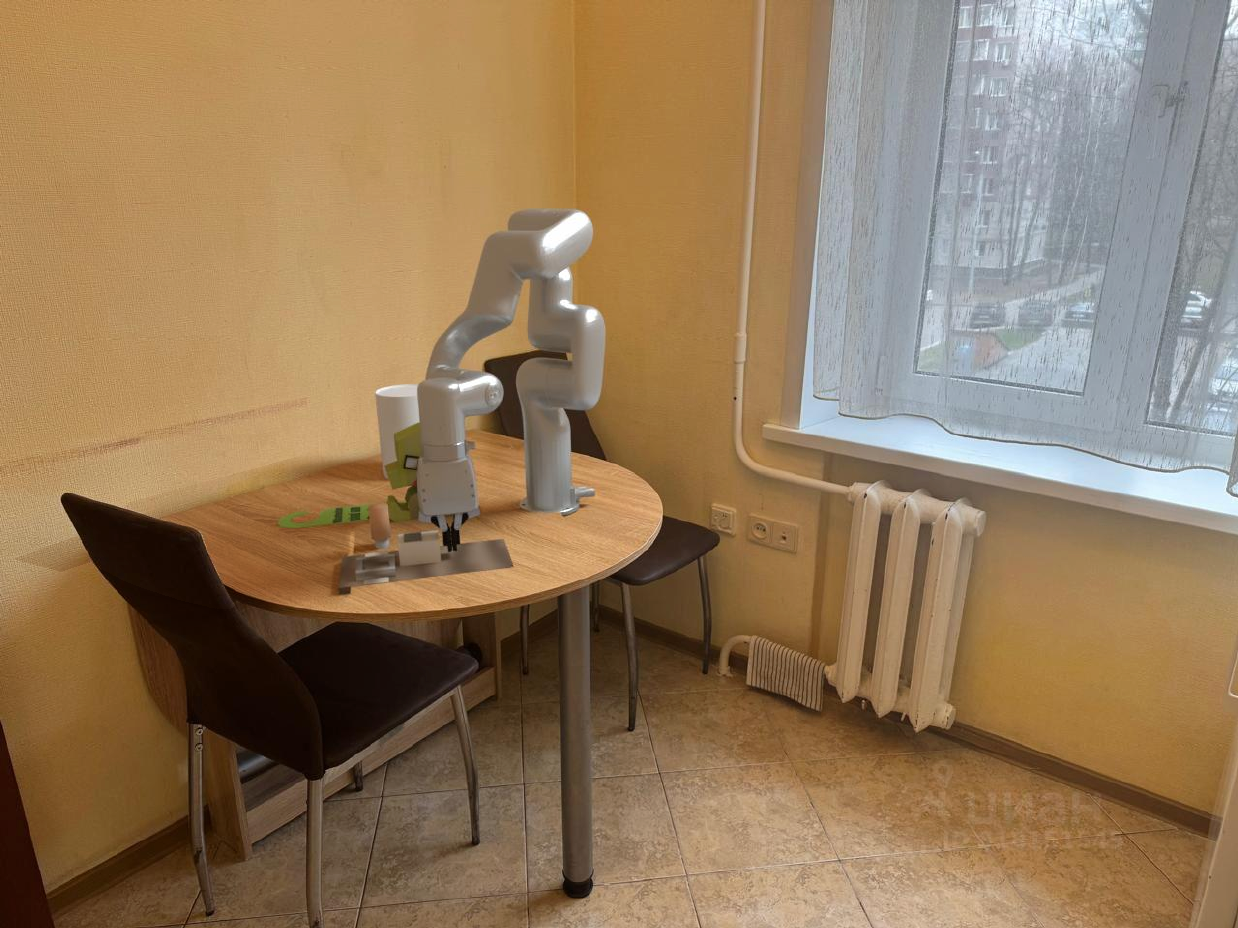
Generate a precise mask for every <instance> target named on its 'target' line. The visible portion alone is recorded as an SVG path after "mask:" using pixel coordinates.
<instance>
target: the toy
mask: <svg viewBox="0 0 1238 928" xmlns="http://www.w3.org/2000/svg"><path fill="white" fill-rule="evenodd" d="M394 443H395V453H396V458H397V461H395V462H393V463H390V464H387V465H385V469H386V472H387V475H388V478H389V479H388V482H389V484H390V487H391V490H392V491H393V490H397V489H401V488H407V487H408V488H407V491H406V492H405V493H406V494H405V496H404V501H405V502H404V501H403V502H398V500H397V498H396V497H395V496H394V495H393V494H389V495H387V498H386V499H387V500H386V503H387V505H388V513H389V520H391V521H393V522H394V523H399V522H406V521H407V522H408V521H414V520H419V519H418V514H419V509H420V508H419V503H418V491H417V466H418V459H419V458H420V457H422V445H421V433H420V422H419V423H416V424H414V425H412V426H410V427H408V428H406V429H404V430H402V431H400V432H398V433H396V434H394ZM445 517H453V514H450V515H445Z"/></svg>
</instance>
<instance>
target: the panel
mask: <svg viewBox="0 0 1238 928" xmlns="http://www.w3.org/2000/svg"><path fill="white" fill-rule="evenodd" d="M505 541H506V540H505V538H500V539H498V538H497V539H489V540H481V541H480V540H479V541H473V542H465V543H464V542H460V545H457V551H453V548H452V551H451V552H448V549H447V546H443V545H440V553H441V562H435V563H426V564H417V565H408V566H400V559H399V550H391V551H378V552H370V553H367V552H366V553H364V554H355V555H346V556H341V561H340V570H339V578H338V595H347V594H348V595H349V594H351V591H352V587H361V586H369V585H379V584H385V583H386V584H387V583H395V582H400V581H401V582H403V581H409V580H410V581H412V580H419V579H427V578H436V577H444V576H452V575H460V574H469V573H477V572H483V571H484V572H485V571H493V570H501V569H508V568H509V569H511V568H515V567H514V564H513V560H512V558H511V555H510V552H509V549H508V547H507V544H506V542H505Z"/></svg>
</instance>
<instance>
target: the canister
mask: <svg viewBox="0 0 1238 928" xmlns="http://www.w3.org/2000/svg"><path fill="white" fill-rule="evenodd" d="M418 385H419V383H408V384H407V383H403V384H396V385H390V386H384V387H381V388H378V389H377V390H375V391H374V394H375V405H376V413H377V414H376V415H377V424H378V425H377V426H378V433H379V434H378V435H379V444H380V453H381V463H382V472H383V473H382V474H383V477H384V478H385V479H386V480H389V478H388V475H387V472H386V469H385V465H387V464H390V463H393V462H395V461H397V458H396V453H395V443H394V434H396V433H398V432H400V431H402V430H404V429H406V428H408V427H410V426H412V425H414V424H416V423H419V422H420V421H419V410H418V399H417V387H418Z"/></svg>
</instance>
